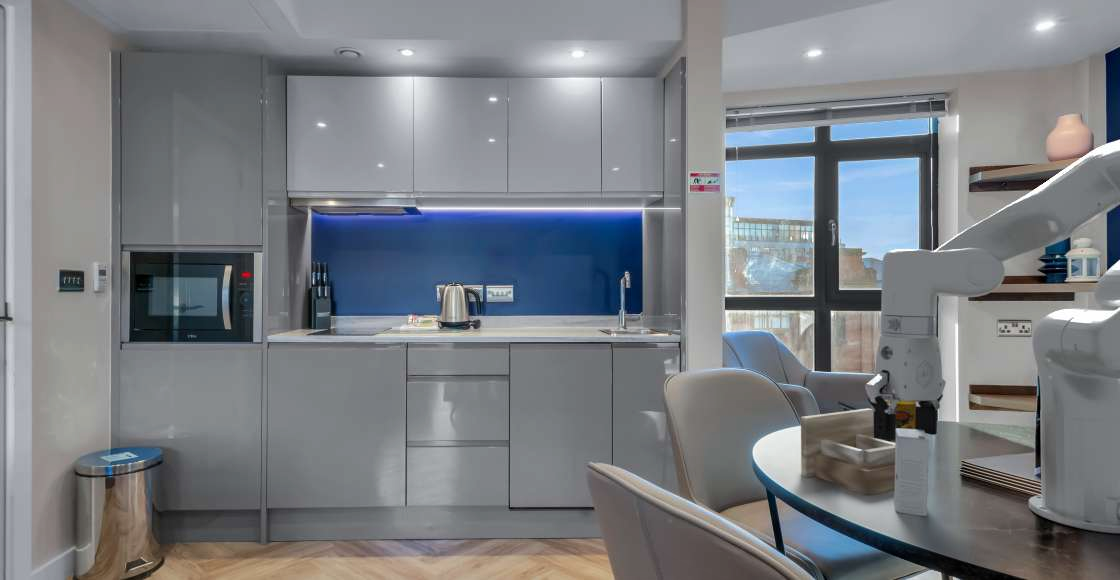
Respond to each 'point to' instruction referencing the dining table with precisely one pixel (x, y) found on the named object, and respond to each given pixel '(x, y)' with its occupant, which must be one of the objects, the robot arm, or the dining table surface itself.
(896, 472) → the skincare box
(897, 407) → the condiment
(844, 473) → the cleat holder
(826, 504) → the dining table surface
